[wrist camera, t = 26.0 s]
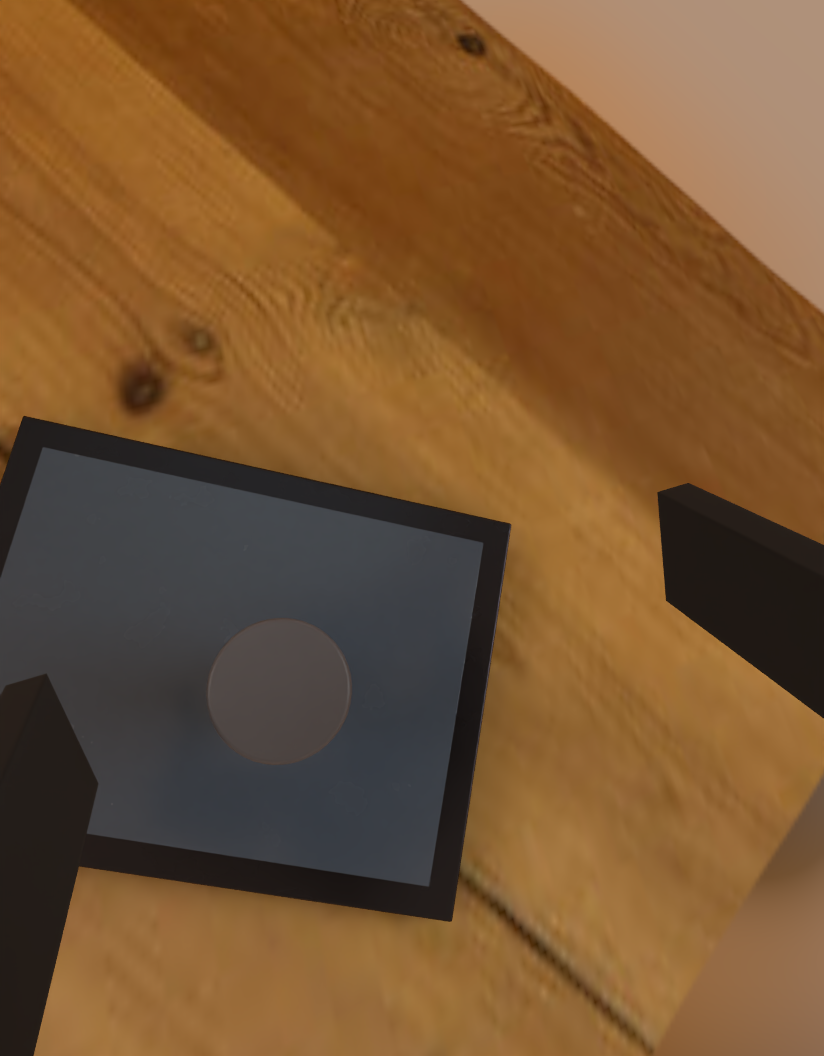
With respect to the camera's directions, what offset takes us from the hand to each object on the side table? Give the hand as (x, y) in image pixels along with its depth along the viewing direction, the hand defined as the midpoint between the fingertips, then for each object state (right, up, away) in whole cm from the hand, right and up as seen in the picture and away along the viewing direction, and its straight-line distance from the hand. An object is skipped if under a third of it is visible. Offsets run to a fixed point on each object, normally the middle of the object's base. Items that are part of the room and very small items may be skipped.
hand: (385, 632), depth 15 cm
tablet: (-6, -3, +11) cm, 12 cm away
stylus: (-4, -3, +10) cm, 11 cm away
